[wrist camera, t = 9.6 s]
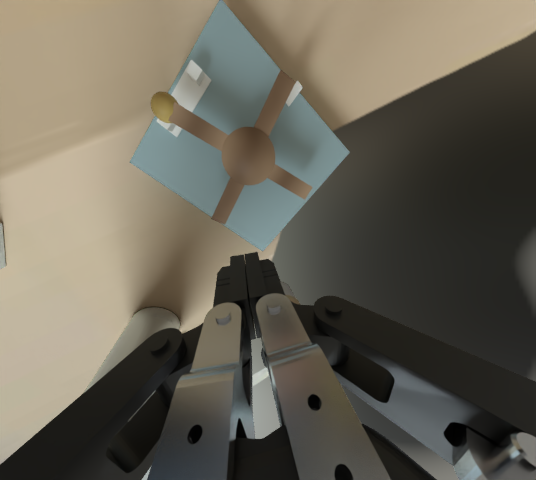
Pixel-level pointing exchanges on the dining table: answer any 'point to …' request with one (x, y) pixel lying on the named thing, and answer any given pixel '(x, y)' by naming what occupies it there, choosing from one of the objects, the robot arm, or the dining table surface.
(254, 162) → the capstan
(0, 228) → the small box
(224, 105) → the stand
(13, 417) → the dining table surface
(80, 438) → the robot arm
